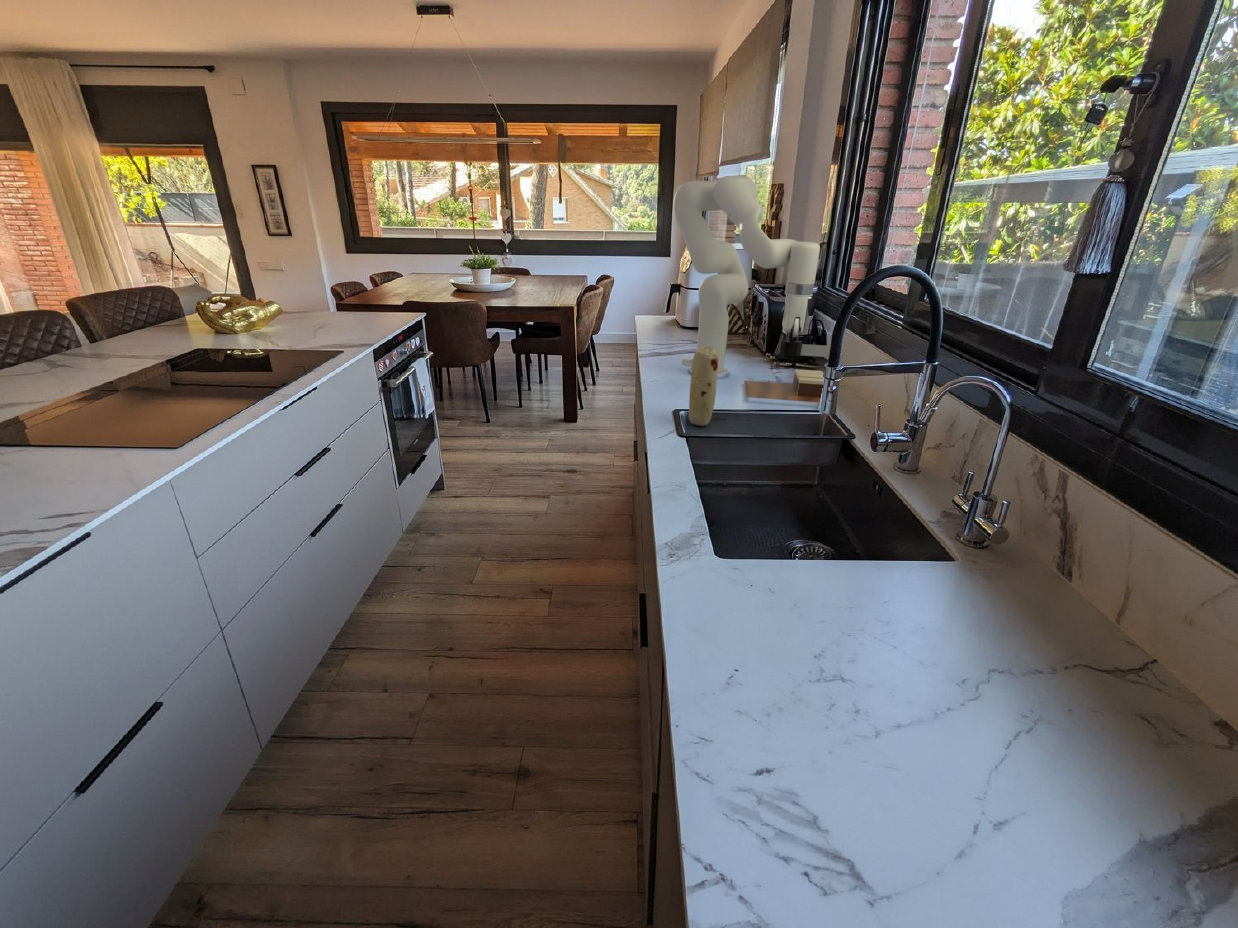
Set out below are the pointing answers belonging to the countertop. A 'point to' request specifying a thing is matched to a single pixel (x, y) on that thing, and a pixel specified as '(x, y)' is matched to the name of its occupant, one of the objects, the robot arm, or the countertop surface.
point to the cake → (806, 375)
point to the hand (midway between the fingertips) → (789, 353)
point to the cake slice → (809, 387)
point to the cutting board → (775, 391)
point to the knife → (805, 349)
